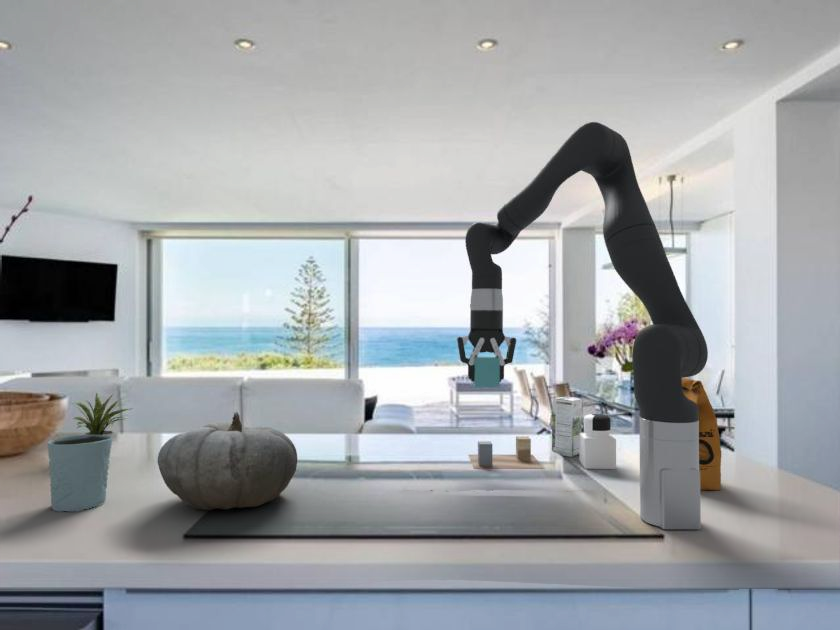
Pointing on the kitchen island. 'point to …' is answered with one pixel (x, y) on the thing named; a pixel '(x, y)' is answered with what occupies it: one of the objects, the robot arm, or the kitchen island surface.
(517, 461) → the board
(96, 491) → the blue planter pot
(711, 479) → the coffee package
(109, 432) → the house plant
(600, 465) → the medicine bottle
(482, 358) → the teal foam cube
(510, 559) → the kitchen island surface
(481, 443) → the post slate
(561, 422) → the syrup box
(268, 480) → the gourd
